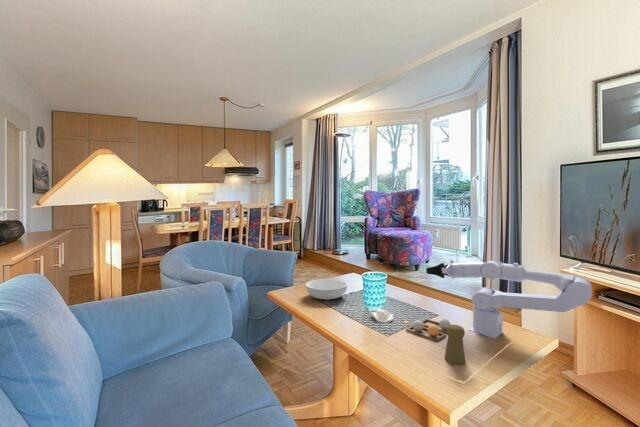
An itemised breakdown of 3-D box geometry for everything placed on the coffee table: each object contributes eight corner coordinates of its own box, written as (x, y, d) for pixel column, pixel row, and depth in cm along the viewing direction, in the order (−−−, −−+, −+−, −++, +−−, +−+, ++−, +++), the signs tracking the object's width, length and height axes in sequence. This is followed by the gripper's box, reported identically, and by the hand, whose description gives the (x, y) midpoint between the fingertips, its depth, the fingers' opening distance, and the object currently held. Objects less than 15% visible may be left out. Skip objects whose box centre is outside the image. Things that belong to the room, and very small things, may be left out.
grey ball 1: (426, 331, 120) (426, 320, 119) (420, 334, 117) (420, 323, 117) (416, 328, 123) (416, 317, 122) (410, 330, 120) (410, 320, 120)
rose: (365, 309, 132) (376, 303, 140) (365, 320, 132) (376, 313, 140) (388, 315, 126) (398, 308, 134) (388, 326, 126) (398, 318, 134)
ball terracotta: (441, 336, 115) (441, 325, 115) (435, 339, 112) (435, 328, 112) (430, 332, 118) (431, 322, 118) (425, 336, 115) (425, 325, 115)
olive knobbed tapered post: (440, 356, 101) (441, 322, 101) (459, 355, 102) (459, 321, 101) (450, 366, 95) (450, 330, 95) (469, 365, 96) (470, 329, 95)
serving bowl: (354, 295, 166) (354, 281, 165) (334, 307, 148) (334, 292, 148) (320, 289, 177) (320, 276, 176) (297, 299, 159) (297, 285, 159)
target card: (423, 325, 126) (423, 324, 126) (416, 329, 122) (416, 328, 122) (405, 319, 132) (405, 318, 132) (398, 323, 128) (398, 322, 128)
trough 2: (457, 330, 121) (457, 327, 120) (449, 335, 116) (449, 332, 116) (426, 321, 130) (426, 318, 130) (418, 325, 126) (418, 322, 126)
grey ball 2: (452, 329, 121) (452, 319, 120) (447, 332, 118) (447, 322, 118) (442, 326, 124) (442, 316, 123) (437, 329, 121) (437, 319, 121)
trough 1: (445, 337, 115) (446, 334, 115) (437, 343, 111) (437, 339, 111) (415, 327, 124) (415, 324, 124) (406, 331, 120) (406, 328, 120)
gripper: (469, 259, 129) (436, 260, 138) (458, 259, 118) (422, 260, 127) (471, 277, 128) (437, 277, 137) (459, 278, 117) (423, 278, 126)
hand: (430, 270), depth 132 cm, fingers open, 7 cm apart
